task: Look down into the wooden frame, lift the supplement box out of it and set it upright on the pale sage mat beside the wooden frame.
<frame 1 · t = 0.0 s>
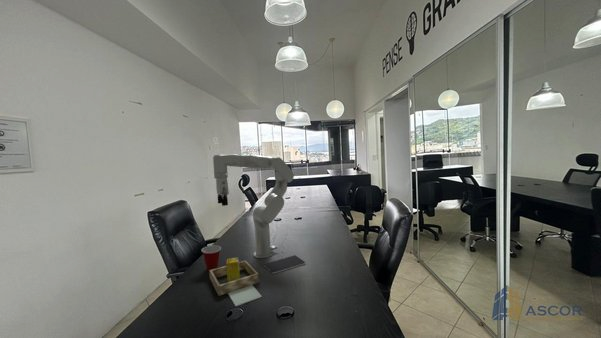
hand: (222, 204, 145), 37 cm above the table, tool pointing down, fingers open, 9 cm apart
mat: (244, 295, 112), on the table
plastic cup: (212, 268, 142), on the table
wooden frame: (233, 280, 127), on the table
supplement box: (233, 280, 127), resting in wooden frame
notebook: (284, 266, 142), on the table
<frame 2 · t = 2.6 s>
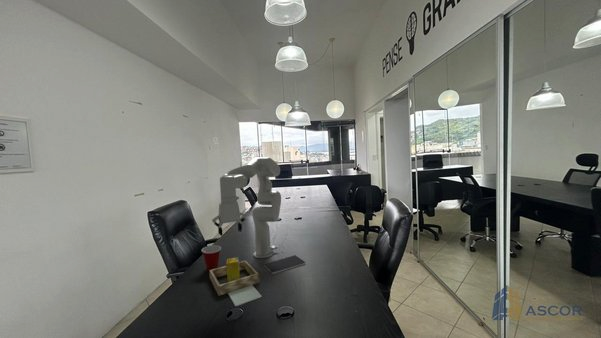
hand: (230, 233, 125), 25 cm above the table, tool pointing down, fingers open, 9 cm apart
nothing on the table moved.
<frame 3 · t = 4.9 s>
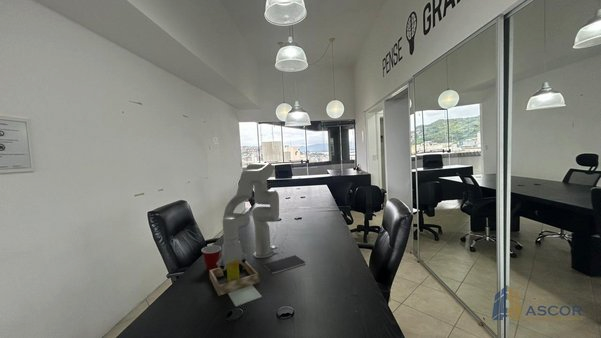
hand: (233, 274, 126), 3 cm above the table, tool pointing down, fingers closed on supplement box, 7 cm apart
supplement box: (233, 280, 127), resting in wooden frame, touching gripper
everything else where it was.
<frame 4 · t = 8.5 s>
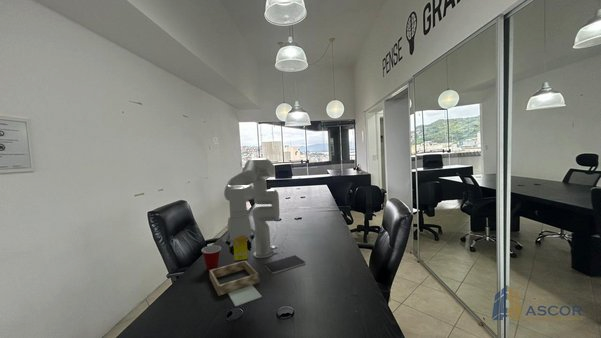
hand: (240, 251, 113), 20 cm above the table, tool pointing down, fingers closed on supplement box, 7 cm apart
supplement box: (241, 259, 113), point 17 cm above the table, touching gripper
everything else where it was.
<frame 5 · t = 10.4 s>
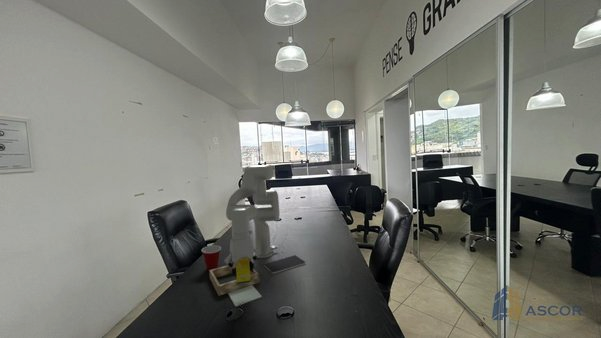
hand: (243, 273, 112), 11 cm above the table, tool pointing down, fingers closed on supplement box, 7 cm apart
supplement box: (243, 280, 112), point 7 cm above the table, touching gripper
everything else where it was.
when the fingers open (5 cm above the table, at t = 12.1 s): supplement box drops 1 cm, resting on mat.
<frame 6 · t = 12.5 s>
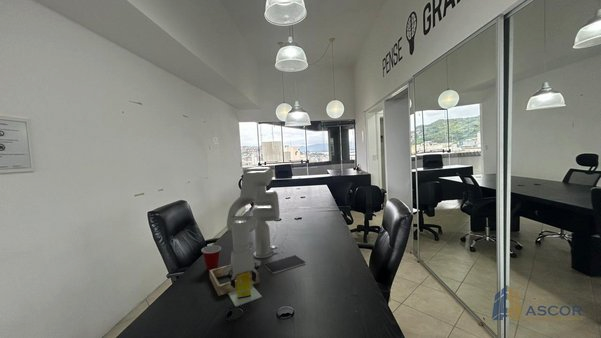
hand: (243, 283, 112), 6 cm above the table, tool pointing down, fingers open, 9 cm apart
supplement box: (244, 295, 112), resting on mat
everything else where it was.
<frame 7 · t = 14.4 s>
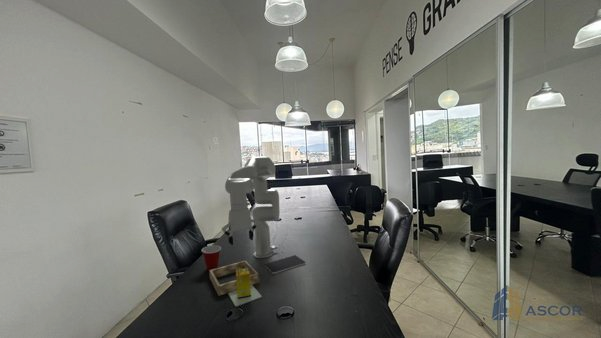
hand: (241, 241, 116), 23 cm above the table, tool pointing down, fingers open, 9 cm apart
nothing on the table moved.
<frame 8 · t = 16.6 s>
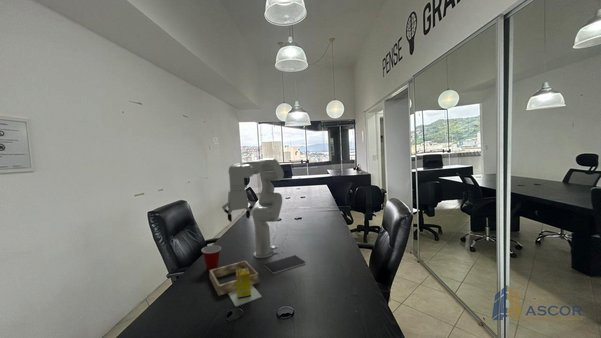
hand: (239, 219, 132), 30 cm above the table, tool pointing down, fingers open, 9 cm apart
nothing on the table moved.
at the end: supplement box inside the target area (0.3 cm from its centre), resting on mat; supplement box tilted 0°; the gripper is holding nothing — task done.
